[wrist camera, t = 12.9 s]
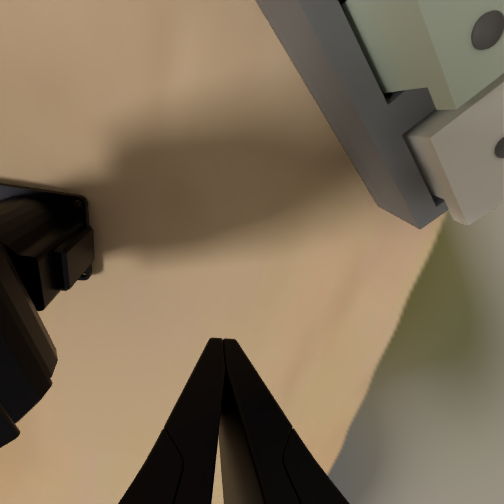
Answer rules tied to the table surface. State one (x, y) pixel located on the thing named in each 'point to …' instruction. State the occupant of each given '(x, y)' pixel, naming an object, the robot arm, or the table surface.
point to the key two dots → (431, 45)
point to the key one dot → (464, 153)
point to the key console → (357, 104)
